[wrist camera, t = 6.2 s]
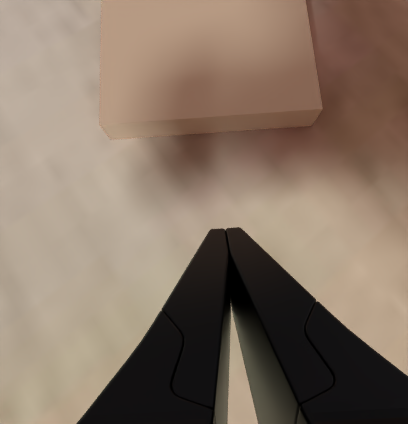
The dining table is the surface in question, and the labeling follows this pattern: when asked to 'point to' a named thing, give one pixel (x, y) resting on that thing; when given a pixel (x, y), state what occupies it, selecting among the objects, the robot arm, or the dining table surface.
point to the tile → (205, 67)
